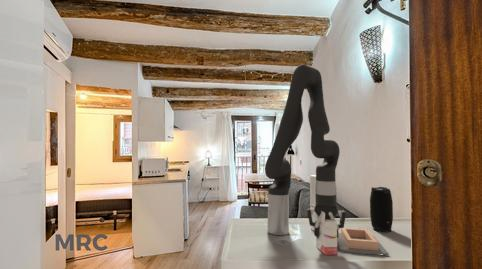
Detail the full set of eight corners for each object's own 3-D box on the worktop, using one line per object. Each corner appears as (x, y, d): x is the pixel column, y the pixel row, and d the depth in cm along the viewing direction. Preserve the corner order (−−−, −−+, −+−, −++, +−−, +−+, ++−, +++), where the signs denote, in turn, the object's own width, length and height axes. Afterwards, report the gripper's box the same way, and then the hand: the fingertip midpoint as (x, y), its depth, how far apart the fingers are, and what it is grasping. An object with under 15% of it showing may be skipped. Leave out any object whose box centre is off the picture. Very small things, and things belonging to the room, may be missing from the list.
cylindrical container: (327, 232, 113) (326, 176, 114) (311, 230, 114) (310, 176, 116) (325, 227, 120) (324, 175, 121) (309, 226, 121) (309, 174, 123)
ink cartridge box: (338, 255, 88) (337, 213, 89) (324, 255, 88) (324, 213, 89) (327, 245, 97) (327, 207, 98) (315, 246, 97) (315, 207, 97)
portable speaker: (395, 233, 111) (394, 189, 112) (372, 231, 114) (371, 188, 115) (389, 227, 119) (388, 186, 120) (368, 226, 122) (367, 186, 123)
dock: (340, 251, 91) (340, 240, 92) (333, 235, 109) (333, 225, 109) (388, 256, 88) (388, 244, 88) (373, 238, 105) (373, 228, 106)
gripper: (306, 193, 92) (306, 240, 91) (348, 195, 88) (348, 243, 88) (305, 190, 99) (306, 233, 98) (344, 191, 96) (344, 236, 95)
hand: (326, 237), depth 93 cm, fingers closed on ink cartridge box, 6 cm apart
